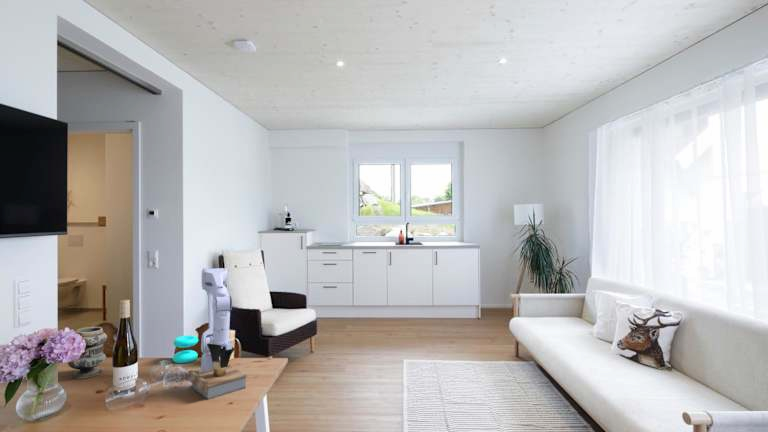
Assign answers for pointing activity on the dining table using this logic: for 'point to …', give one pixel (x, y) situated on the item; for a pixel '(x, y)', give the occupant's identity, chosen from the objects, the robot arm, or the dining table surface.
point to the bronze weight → (218, 369)
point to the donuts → (186, 354)
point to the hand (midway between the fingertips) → (219, 364)
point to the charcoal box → (222, 388)
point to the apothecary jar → (90, 353)
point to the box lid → (214, 378)
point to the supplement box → (232, 341)
